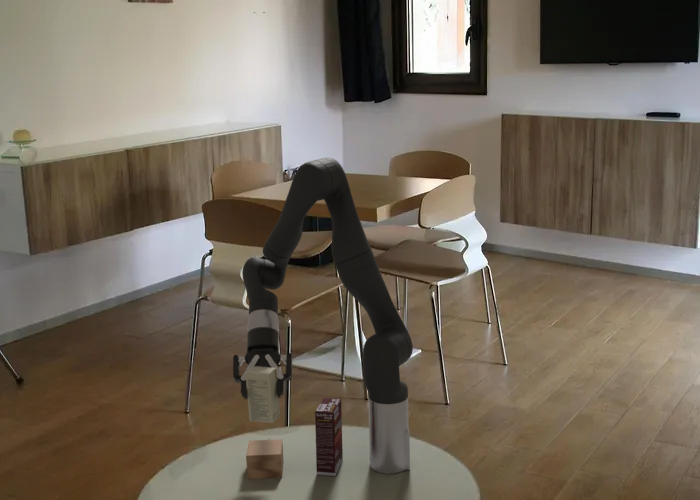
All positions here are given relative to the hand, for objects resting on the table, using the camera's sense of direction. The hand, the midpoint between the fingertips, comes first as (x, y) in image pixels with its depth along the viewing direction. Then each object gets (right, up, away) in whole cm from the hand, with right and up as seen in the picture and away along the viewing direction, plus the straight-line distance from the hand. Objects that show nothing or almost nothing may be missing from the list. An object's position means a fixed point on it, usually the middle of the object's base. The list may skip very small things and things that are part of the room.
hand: (262, 397), depth 201 cm
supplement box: (+15, -18, +6) cm, 24 cm away
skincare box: (0, -6, +3) cm, 6 cm away
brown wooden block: (0, -18, +6) cm, 19 cm away
